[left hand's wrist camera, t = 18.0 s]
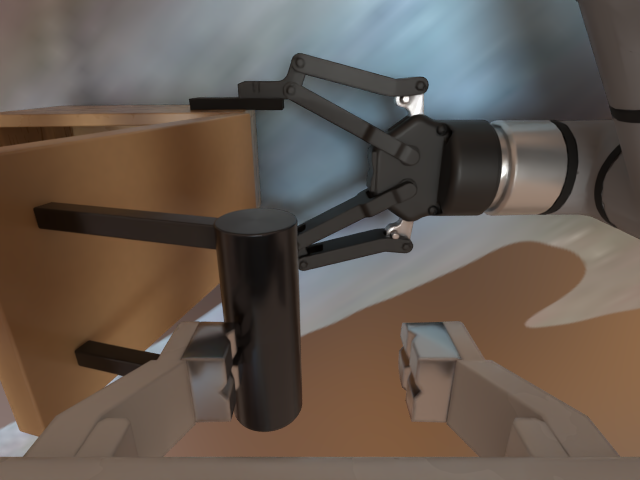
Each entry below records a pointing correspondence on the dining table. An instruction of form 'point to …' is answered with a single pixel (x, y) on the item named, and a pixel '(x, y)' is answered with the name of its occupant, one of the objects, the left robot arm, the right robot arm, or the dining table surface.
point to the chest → (104, 123)
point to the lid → (141, 263)
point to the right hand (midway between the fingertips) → (202, 170)
